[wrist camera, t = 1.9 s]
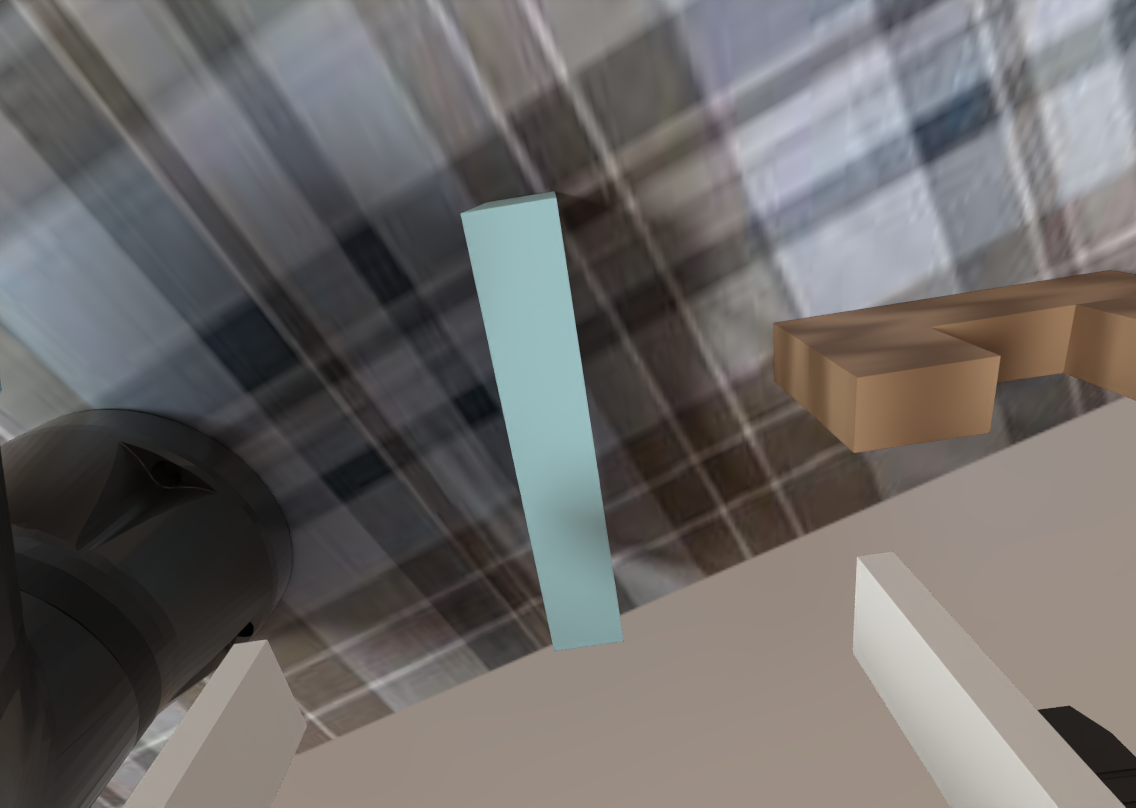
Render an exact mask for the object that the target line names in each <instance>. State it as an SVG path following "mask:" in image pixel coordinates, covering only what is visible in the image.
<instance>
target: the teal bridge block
mask: <svg viewBox="0 0 1136 808" xmlns="http://www.w3.org/2000/svg"><path fill="white" fill-rule="evenodd" d="M460 214H461V219H462V223H463V228H464V233H465V237H466V242H467V247H468V251H469V256H470V261H471V265H472V270H473V275H474V279H475V284H476V289H477V293H478V298H479V303H480V307H481V312H482V317H483V321H484V326H485V331H486V335H487V340H488V345H489V349H490V354H491V358H492V363H493V368H494V372H495V377H496V382H497V386H498V391H499V396H500V400H501V405H502V410H503V414H504V419H505V424H506V428H507V433H508V438H509V442H510V447H511V452H512V456H513V461H514V466H515V470H516V475H517V480H518V484H519V489H520V494H521V498H522V503H523V508H524V512H525V517H526V522H527V526H528V531H529V536H530V540H531V545H532V550H533V554H534V559H535V564H536V568H537V573H538V578H539V582H540V587H541V592H542V596H543V601H544V606H545V610H546V615H547V620H548V624H549V629H550V634H551V638H552V643H553V648H554V651H559V650H566V649H573V648H580V647H588V646H595V645H602V644H608V643H616V642H623V641H624V640H623V634H622V627H621V621H620V614H619V607H618V601H617V594H616V587H615V581H614V574H613V568H612V561H611V555H610V548H609V541H608V535H607V528H606V522H605V515H604V508H603V502H602V495H601V489H600V482H599V476H598V469H597V462H596V456H595V449H594V443H593V436H592V429H591V423H590V416H589V410H588V403H587V397H586V390H585V383H584V377H583V370H582V364H581V357H580V350H579V344H578V337H577V331H576V324H575V318H574V311H573V304H572V298H571V291H570V285H569V278H568V271H567V265H566V258H565V252H564V245H563V238H562V232H561V225H560V219H559V212H558V206H557V199H556V195H555V191H552V192H546V193H540V194H534V195H528V196H522V197H516V198H510V199H504V200H498V201H492V202H487V203H484V204H482V205H479V206H477V207H475V208H472V209H470V210H467V211H465V212H462V213H460Z"/></svg>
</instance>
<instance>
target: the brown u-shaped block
mask: <svg viewBox="0 0 1136 808" xmlns="http://www.w3.org/2000/svg"><path fill="white" fill-rule="evenodd" d="M1059 373H1065V374H1068V375H1070V376H1073V377H1075V378H1078V379H1081V380H1083V381H1086V382H1089V383H1091V384H1094V385H1096V386H1099V387H1102V388H1104V389H1107V390H1109V391H1112V392H1115V393H1117V394H1120V395H1123V396H1125V397H1128V398H1130V399H1133V400H1136V275H1135V274H1129V273H1123V272H1117V271H1111V270H1109V271H1102V272H1096V273H1090V274H1083V275H1077V276H1071V277H1064V278H1058V279H1051V280H1045V281H1039V282H1032V283H1026V284H1019V285H1013V286H1007V287H1000V288H994V289H987V290H981V291H975V292H968V293H962V294H956V295H949V296H943V297H936V298H930V299H924V300H917V301H911V302H904V303H898V304H892V305H885V306H879V307H872V308H866V309H860V310H853V311H847V312H841V313H834V314H828V315H821V316H815V317H809V318H802V319H796V320H789V321H783V322H777V323H774V381H775V382H776V383H777V384H779V385H780V386H781V387H782V388H783V389H784V390H785V391H786V392H787V393H788V394H790V395H791V396H792V397H793V398H794V399H795V400H796V401H797V402H798V403H799V404H801V405H802V406H803V407H804V408H805V409H806V410H807V411H808V412H809V413H810V414H812V415H813V416H814V417H815V418H816V419H817V420H818V421H819V422H820V423H821V424H823V425H824V426H825V427H826V428H827V429H828V430H829V431H830V432H831V433H832V434H834V435H835V436H836V437H837V438H838V439H839V440H840V441H841V442H842V443H843V444H845V445H846V446H847V447H848V448H849V449H850V450H851V451H852V452H853V453H857V452H864V451H871V450H877V449H884V448H891V447H898V446H904V445H911V444H918V443H924V442H931V441H938V440H945V439H951V438H958V437H965V436H971V435H978V434H985V433H990V428H991V420H992V413H993V406H994V399H995V392H996V385H997V383H999V382H1006V381H1012V380H1019V379H1026V378H1032V377H1039V376H1045V375H1052V374H1059Z"/></svg>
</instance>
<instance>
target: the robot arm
mask: <svg viewBox="0 0 1136 808" xmlns="http://www.w3.org/2000/svg"><path fill="white" fill-rule="evenodd" d="M1 390H2V388H1V382H0V392H1ZM291 569H292V544H291V538H290V534H289V530H288V526H287V524H286V521H285V518H284V516H283V514H282V511H281V509H280V507H279V506H278V504H277V502H276V500H275V499H274V497H273V496H272V494H271V492H270V491H269V490H268V488H267V487H266V486H265V484H264V483H263V482H262V481H261V480H260V478H259V477H258V476H257V475H256V474H255V473H254V472H253V471H252V470H251V469H250V468H249V467H248V466H247V465H246V464H245V463H244V462H243V461H242V460H241V459H239V458H238V457H237V456H236V455H234V454H233V453H232V452H231V451H229V450H228V449H226V448H225V447H223V446H222V445H221V444H219V443H217V442H216V441H214V440H213V439H211V438H209V437H207V436H205V435H204V434H202V433H200V432H198V431H196V430H194V429H191V428H189V427H187V426H184V425H182V424H180V423H177V422H174V421H171V420H168V419H165V418H161V417H158V416H154V415H150V414H145V413H140V412H133V411H124V410H92V411H83V412H78V413H73V414H69V415H65V416H62V417H59V418H56V419H54V420H51V421H49V422H47V423H45V424H43V425H41V426H39V427H37V428H34V429H32V430H30V431H28V432H26V433H24V434H22V435H20V436H18V437H16V438H14V439H12V440H10V441H9V442H7V443H5V444H3V445H2V446H0V808H91V806H92V805H93V803H94V802H95V801H96V799H97V798H98V796H99V795H100V794H101V792H102V791H103V789H104V788H105V787H106V785H107V784H108V782H109V781H110V780H111V778H112V777H113V776H114V774H115V773H116V771H117V770H118V769H119V767H120V766H121V764H122V763H123V762H124V760H125V759H126V757H127V756H128V754H129V753H130V752H131V750H132V749H133V748H134V746H135V745H136V743H137V742H138V741H139V739H140V738H141V737H142V735H143V734H144V732H145V731H146V730H147V728H148V727H149V726H150V724H151V723H152V722H153V720H154V719H155V718H156V716H157V715H158V714H159V713H160V712H162V711H163V710H164V709H165V708H167V707H168V706H169V705H170V704H172V703H173V702H174V701H176V700H177V699H178V698H179V697H181V696H182V695H183V694H185V693H186V692H187V691H188V690H190V689H191V688H192V687H194V686H195V685H196V684H197V683H199V682H200V681H201V680H203V679H204V678H205V677H206V676H208V675H209V674H210V673H212V672H213V671H214V670H215V669H217V670H216V671H215V673H214V674H213V676H212V677H211V679H210V680H209V681H208V683H207V684H206V686H205V687H204V689H203V690H202V692H201V693H200V695H199V696H198V698H197V699H196V701H195V702H194V703H193V705H192V706H191V708H190V709H189V711H188V712H187V714H186V715H185V717H184V718H183V720H182V721H181V723H180V724H179V725H178V727H177V728H176V730H175V731H174V733H173V734H172V736H171V737H170V739H169V740H168V742H167V743H166V744H165V746H164V747H163V749H162V750H161V752H160V753H159V755H158V756H157V758H156V759H155V761H154V762H153V764H152V765H151V766H150V768H149V769H148V771H147V772H146V774H145V775H144V777H143V778H142V780H141V781H140V783H139V784H138V786H137V787H136V788H135V790H134V791H133V793H132V794H131V796H130V797H129V799H128V800H127V802H126V803H125V805H124V806H123V808H271V806H272V803H273V801H274V799H275V797H276V795H277V792H278V790H279V788H280V786H281V783H282V781H283V779H284V777H285V774H286V772H287V770H288V768H289V766H290V763H291V761H292V759H293V757H294V754H295V752H296V750H297V748H298V745H299V743H300V741H301V739H302V736H303V734H304V732H305V730H306V728H307V725H306V723H305V721H304V718H303V716H302V714H301V712H300V710H299V708H298V705H297V703H296V701H295V699H294V697H293V695H292V692H291V690H290V688H289V686H288V684H287V682H286V679H285V677H284V675H283V673H282V671H281V668H280V666H279V664H278V662H277V660H276V658H275V655H274V653H273V651H272V649H271V647H270V645H269V642H268V640H260V641H253V642H250V641H251V640H252V639H253V638H254V637H255V636H256V634H257V633H258V632H259V631H260V630H261V628H262V627H263V626H264V624H265V623H266V621H267V620H268V618H269V616H270V615H271V613H272V612H273V610H274V609H275V607H276V606H277V604H278V602H279V601H280V599H281V598H282V596H283V594H284V592H285V590H286V587H287V585H288V582H289V578H290V574H291ZM853 654H854V655H855V657H856V659H857V660H858V662H859V663H860V665H861V666H862V668H863V670H864V671H865V673H866V674H867V676H868V677H869V679H870V681H871V682H872V684H873V685H874V687H875V689H876V690H877V692H878V694H879V695H880V696H881V698H882V700H883V701H884V703H885V705H886V706H887V708H888V709H889V711H890V712H891V714H892V716H893V717H894V719H895V720H896V722H897V724H898V725H899V727H900V728H901V730H902V732H903V733H904V735H905V736H906V738H907V739H908V741H909V742H910V744H911V746H912V747H913V749H914V751H915V752H916V754H917V755H918V757H919V758H920V760H921V762H922V763H923V765H924V766H925V768H926V770H927V771H928V773H929V774H930V776H931V778H932V779H933V781H934V782H935V784H936V785H937V787H938V789H939V790H940V792H941V793H942V795H943V797H944V798H945V800H946V801H947V803H948V804H949V806H950V807H951V808H1136V757H1135V756H1134V755H1133V754H1132V753H1131V752H1130V751H1129V750H1128V749H1127V748H1126V747H1125V746H1124V745H1123V744H1122V743H1121V742H1120V741H1119V740H1118V739H1117V738H1116V737H1115V736H1114V735H1113V734H1112V733H1110V732H1109V731H1108V730H1106V729H1105V728H1103V727H1102V726H1100V725H1099V724H1097V723H1095V722H1094V721H1092V720H1091V719H1089V718H1088V717H1086V716H1084V715H1083V714H1082V713H1080V712H1079V711H1077V710H1075V709H1074V708H1072V707H1071V706H1064V707H1056V708H1048V709H1041V710H1037V709H1036V708H1035V707H1034V706H1033V705H1032V704H1031V703H1030V702H1029V701H1028V700H1027V699H1026V697H1025V696H1024V695H1023V694H1022V693H1021V692H1020V691H1019V690H1018V689H1017V687H1016V686H1015V685H1014V684H1013V683H1012V682H1011V681H1010V680H1009V679H1008V678H1007V676H1006V675H1005V674H1004V673H1003V672H1002V671H1001V670H1000V669H999V668H998V667H997V665H996V664H995V663H994V662H993V661H992V660H991V659H990V658H989V657H988V656H987V654H985V652H984V651H983V650H982V649H981V648H980V647H979V646H978V645H977V644H976V642H975V641H974V640H973V639H972V638H971V637H970V636H969V635H968V634H967V632H965V630H964V629H963V628H962V627H961V626H960V625H959V624H958V623H957V621H956V620H955V619H954V618H953V617H952V616H951V615H950V614H949V613H948V611H947V610H946V609H945V608H944V607H943V606H942V605H941V604H940V603H939V602H938V601H937V599H935V597H934V596H933V595H932V594H931V593H930V592H929V591H928V590H927V588H926V587H925V586H924V585H923V584H922V583H921V582H920V581H919V580H918V578H917V577H916V576H915V575H914V574H913V573H912V572H911V571H910V570H909V569H908V567H907V566H906V565H905V564H904V563H903V562H902V561H901V560H900V559H899V558H898V557H897V555H896V554H895V553H894V552H893V551H892V552H885V553H878V554H871V555H864V556H857V570H856V591H855V612H854V634H853Z"/></svg>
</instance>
